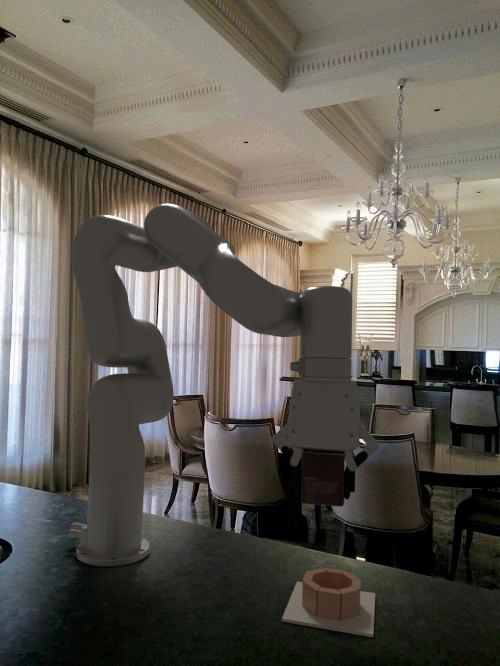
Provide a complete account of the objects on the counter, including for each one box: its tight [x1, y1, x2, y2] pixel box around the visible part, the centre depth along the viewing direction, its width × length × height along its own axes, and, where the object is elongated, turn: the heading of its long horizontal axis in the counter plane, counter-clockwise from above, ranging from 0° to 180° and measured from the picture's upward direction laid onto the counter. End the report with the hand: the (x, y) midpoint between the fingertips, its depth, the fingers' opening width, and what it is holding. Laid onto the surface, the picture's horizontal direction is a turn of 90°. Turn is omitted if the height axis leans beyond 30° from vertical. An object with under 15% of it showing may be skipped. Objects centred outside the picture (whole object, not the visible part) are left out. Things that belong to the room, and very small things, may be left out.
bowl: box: [302, 567, 362, 621], centre depth 73 cm, size 8×8×4 cm
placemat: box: [281, 580, 376, 638], centre depth 72 cm, size 12×12×1 cm
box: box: [300, 449, 346, 508], centre depth 74 cm, size 6×6×7 cm
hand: (323, 493), depth 73 cm, fingers closed on box, 6 cm apart
